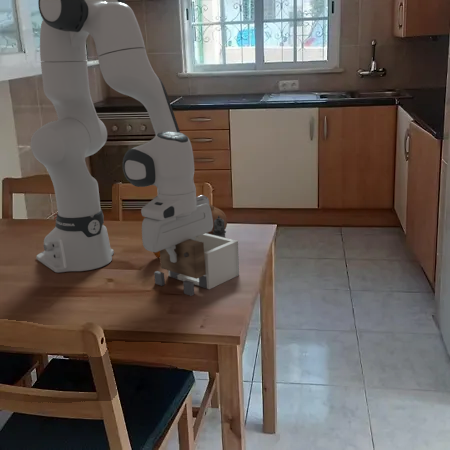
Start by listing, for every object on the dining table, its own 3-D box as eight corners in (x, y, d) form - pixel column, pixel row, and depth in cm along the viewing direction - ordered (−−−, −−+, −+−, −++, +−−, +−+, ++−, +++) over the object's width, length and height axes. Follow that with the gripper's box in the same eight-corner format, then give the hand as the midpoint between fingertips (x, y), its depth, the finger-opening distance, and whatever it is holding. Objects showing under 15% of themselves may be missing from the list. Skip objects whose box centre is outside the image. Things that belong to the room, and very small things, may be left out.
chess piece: (230, 253, 161) (229, 211, 158) (231, 261, 156) (230, 218, 152) (209, 254, 161) (207, 212, 158) (209, 262, 156) (207, 219, 152)
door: (159, 269, 142) (156, 237, 140) (170, 264, 145) (167, 233, 143) (194, 279, 135) (192, 247, 132) (205, 274, 137) (203, 242, 135)
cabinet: (152, 282, 144) (150, 248, 141) (198, 263, 155) (196, 231, 152) (193, 296, 135) (191, 260, 132) (239, 274, 146) (237, 240, 144)
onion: (198, 232, 181) (196, 201, 178) (228, 231, 180) (227, 200, 177) (195, 242, 172) (193, 209, 169) (227, 241, 171) (225, 208, 168)
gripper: (198, 191, 145) (201, 244, 149) (135, 210, 130) (140, 268, 134) (217, 194, 141) (220, 248, 145) (154, 215, 126) (159, 274, 130)
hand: (181, 258), depth 139 cm, fingers closed on door, 3 cm apart
